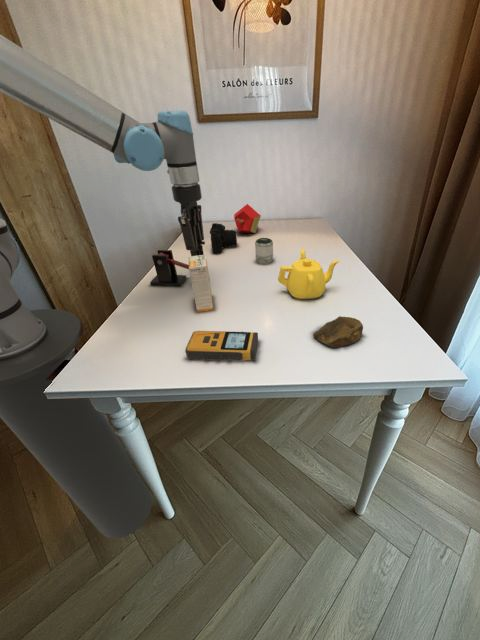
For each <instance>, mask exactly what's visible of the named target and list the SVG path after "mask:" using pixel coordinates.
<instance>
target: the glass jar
mask: <svg viewBox="0 0 480 640" xmlns="http://www.w3.org/2000/svg"><path fill="white" fill-rule="evenodd" d="M254 246H255V247H254V249H255V252H254V253H255V260H256V263H257V264H259V265H269V264H272V263H273V259H274V241H273V240H272V239H271V238H268V237H259V238H257V239H256V240H255V242H254Z"/></svg>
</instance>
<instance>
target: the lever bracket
mask: <svg viewBox="0 0 480 640" xmlns="http://www.w3.org/2000/svg"><path fill="white" fill-rule="evenodd" d="M159 253H164V254H167V255H169V258H170V259H173V260H175V258H174V254H173V250H172V249H158V250H157V254H152V255H151V257H152V262H153V265H154V270H155V273H156V275H155V276H154V277H153V279H151V281H150V282H149V284H150V286H151V287H152V286H153V287H179V288H180V287H182V285H183V284H184V282H185V281H186V280H187V275H186V274H178V273H177V268H176V265H174V264H171V263H169V262H168V258H167V255H158V254H159Z"/></svg>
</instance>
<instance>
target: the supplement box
mask: <svg viewBox="0 0 480 640" xmlns="http://www.w3.org/2000/svg"><path fill="white" fill-rule="evenodd" d="M207 261H208V260H207V257H206V254H204V255H198V256H191V255H190V256H188V265H189V269H188V271H189V276H190V281H191V282H190V283H191V286H192V292H193V297H194V298H193V299H194V303H195V308H196V312H197V313H199V312H208V311H213V310H214V306H213V296H212V288H211V287H212V286H211V281H210V273H209V267H208V262H207Z"/></svg>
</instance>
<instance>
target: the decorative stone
mask: <svg viewBox="0 0 480 640" xmlns="http://www.w3.org/2000/svg"><path fill="white" fill-rule="evenodd" d="M363 331H364V325H363V323H362V321H361V320H359V319H357V318H354V317H349V316H341V315H340V316H338V317H336V318H334V319H333V320H331V321H328V322H326V323H325V324H323V326H322V327H320V329H318V330H316V331H315V332H314V333H313V334H312V336H313V338H314V339H315V340H317V341H318V342H320V343H322V344H324V345H326V346H329V347H332V348H335V349H338V348H339V347H341V346H349V345H352V344H354V343H358V341H360V339H361V337H362V336H363Z"/></svg>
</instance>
